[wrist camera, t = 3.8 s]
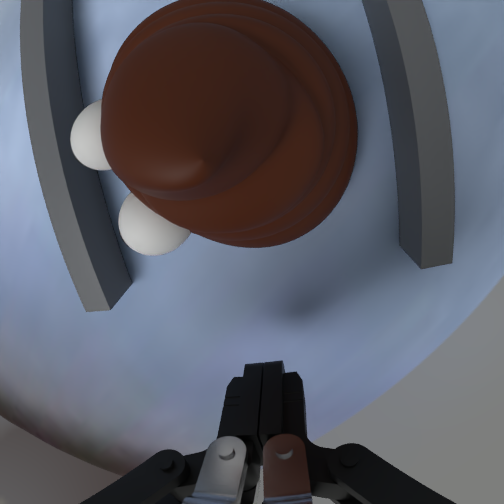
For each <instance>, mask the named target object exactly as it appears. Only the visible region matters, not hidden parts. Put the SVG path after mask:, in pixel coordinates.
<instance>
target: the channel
mask: <svg viewBox="0 0 504 504" xmlns="http://www.w3.org/2000/svg"><path fill="white" fill-rule="evenodd" d="M362 2H363V6H364V9H365V12H366V15H367V19H368V22H369V26H370V29H371V33H372V37H373V40H374V44H375V48H376V52H377V56H378V61H379V65H380V70H381V74H382V79H383V84H384V89H385V95H386V100H387V106H388V112H389V118H390V125H391V132H392V140H393V148H394V157H395V167H396V178H397V191H398V208H399V240H400V246H401V248H402V249H403V250H404V251H405V252H406V253H407V254H408V255H409V256H410V257H411V259H412V260H413V261H414V262H415V263H416V264H417V265H418V266H419V268H420V269H425V268H430V267H435V266H440V265H445V264H450V263H452V258H453V244H454V220H455V187H454V163H453V149H452V138H451V128H450V120H449V112H448V106H447V99H446V93H445V87H444V82H443V77H442V72H441V67H440V63H439V58H438V54H437V50H436V46H435V42H434V38H433V35H432V31H431V28H430V24H429V21H428V18H427V15H426V12H425V9H424V6H423V3H422V0H362ZM20 51H21V70H22V82H23V92H24V101H25V109H26V116H27V122H28V128H29V134H30V140H31V145H32V150H33V155H34V159H35V164H36V168H37V173H38V177H39V181H40V185H41V188H42V192H43V196H44V199H45V203H46V206H47V210H48V213H49V216H50V220H51V223H52V226H53V229H54V232H55V235H56V238H57V241H58V244H59V247H60V249H61V252H62V255H63V258H64V260H65V263H66V266H67V268H68V271H69V273H70V276H71V278H72V281H73V283H74V285H75V288H76V290H77V293H78V295H79V297H80V299H81V302H82V304H83V306H84V308H85V311H86V312H93V311H107V310H111V309H112V308H113V307H114V305H115V304H116V303H117V302H118V300H119V299H120V298H121V297H122V296H123V294H124V293H125V292H126V291H127V289H128V288H129V287H130V286H131V285H132V282H131V279H130V277H129V274H128V271H127V268H126V265H125V263H124V260H123V257H122V254H121V251H120V248H119V245H118V242H117V239H116V236H115V233H114V229H113V226H112V223H111V220H110V216H109V213H108V210H107V206H106V203H105V199H104V195H103V192H102V188H101V184H100V181H99V177H98V173H97V170H95V169H92V168H89V167H86V166H84V165H82V164H80V163H79V162H78V161H77V160H76V158H75V157H74V155H73V152H72V147H71V141H70V137H71V130H72V127H73V124H74V122H75V120H76V119H77V117H78V116H79V114H80V113H81V112H82V111H83V110H84V107H83V101H82V95H81V89H80V82H79V75H78V67H77V59H76V50H75V39H74V27H73V10H72V0H21V13H20Z"/></svg>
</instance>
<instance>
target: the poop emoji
mask: <svg viewBox="0 0 504 504" xmlns="http://www.w3.org/2000/svg"><path fill="white" fill-rule="evenodd" d="M357 140H358V128H357V117H356V110H355V105H354V101H353V97H352V94H351V91H350V88H349V85H348V83H347V80H346V78H345V76H344V74H343V72H342V70H341V68H340V66H339V64H338V63H337V61H336V59H335V58H334V56H333V55H332V53H331V52H330V51H329V49H328V48H327V47H326V45H325V44H324V43H323V42H322V41H321V39H320V38H319V37H318V36H317V35H316V34H315V33H314V32H313V31H312V30H311V29H310V28H309V27H307V26H306V25H305V24H304V23H303V22H301V21H300V20H299V19H297V18H296V17H295V16H293V15H291V14H290V13H288V12H287V11H285V10H283V9H281V8H279V7H277V6H275V5H273V4H271V3H268V2H266V1H263V0H178V1H176V2H173V3H171V4H169V5H167V6H165V7H163V8H161V9H159V10H158V11H156V12H154V13H153V14H151V15H150V16H149V17H147V18H146V19H145V20H144V21H142V22H141V23H140V24H139V25H138V26H137V27H136V28H135V29H134V30H133V31H132V33H131V34H130V35H129V36H128V37H127V39H126V40H125V41H124V43H123V45H122V46H121V48H120V49H119V51H118V53H117V55H116V57H115V59H114V62H113V64H112V67H111V70H110V72H109V75H108V77H107V80H106V83H105V87H104V91H103V96H102V99H100V100H98V101H96V102H94V103H92V104H90V105H89V106H87V107H86V108H85V109H84V110H83V111H82V112H81V113H80V114H79V116H78V117H77V119H76V120H75V122H74V124H73V127H72V130H71V137H70V141H71V147H72V152H73V155H74V157H75V158H76V160H77V161H78V162H79V163H80V164H82V165H84V166H86V167H89V168H92V169H95V170H111V169H112V170H113V172H114V173H115V174H116V175H117V176H118V177H119V178H120V179H121V180H122V181H123V182H124V184H125V185H126V186H127V187H128V189H129V190H130V191H131V193H130V194H129V195H128V196H127V197H126V199H125V201H124V202H123V204H122V206H121V209H120V213H119V232H120V236H121V238H122V240H123V241H124V243H125V244H126V245H127V246H129V247H130V248H131V249H133V250H134V251H136V252H138V253H141V254H144V255H150V256H157V255H163V254H166V253H169V252H171V251H173V250H175V249H176V248H178V247H179V246H180V245H181V244H183V243H184V241H185V240H186V239H187V238H188V237H189V235H190V233H191V232H192V233H194V234H197V235H200V236H202V237H205V238H207V239H210V240H213V241H216V242H219V243H222V244H226V245H231V246H237V247H246V248H262V247H271V246H276V245H280V244H284V243H287V242H290V241H292V240H295V239H297V238H299V237H301V236H303V235H305V234H306V233H308V232H309V231H311V230H312V229H314V228H315V227H316V226H318V225H319V224H320V223H321V222H322V221H323V220H324V219H325V218H326V217H327V216H328V215H329V214H330V213H331V212H332V210H333V209H334V208H335V206H336V205H337V204H338V202H339V201H340V199H341V197H342V195H343V194H344V192H345V190H346V188H347V185H348V183H349V180H350V177H351V174H352V171H353V168H354V163H355V159H356V152H357Z"/></svg>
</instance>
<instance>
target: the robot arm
mask: <svg viewBox="0 0 504 504" xmlns="http://www.w3.org/2000/svg"><path fill="white" fill-rule="evenodd" d="M262 465H263V481H264V501H263V502H262V504H312V496H317V497H322V498H329V499H331V500H332V501H333V502H334V503H335V504H456V503H454V502H452V501H451V500H449V499H447V498H445V497H443V496H442V495H440V494H438V493H436V492H435V491H433V490H431V489H430V488H428V487H426V486H425V485H422V484H421V483H419V482H418V481H416V480H415V479H413V478H411V477H410V476H408V475H407V474H405V473H403V472H402V471H400V470H399V469H397V468H395V467H394V466H393V465H391V464H389V463H388V462H386V461H385V460H383V459H382V458H380V457H379V456H377V455H376V454H374V453H373V452H371V451H370V450H368V449H367V448H366V447H364V446H362V445H360V444H354V443H350V444H344V445H341V446H339V447H337V448H336V449H330V448H323V447H319V446H317V445H315V444H313V443H312V442H310V440H309V439H308V438H307V424H306V407H305V397H304V389H303V381H302V379H301V378H300V376H299V375H298V373H297V372H289V373H285V369H284V364H283V361H273V362H265V363H253V364H245V368H244V375H243V377H234V378H233V379H232V380H231V382H230V383H229V385H228V386H227V390H226V395H225V400H224V407H223V410H222V416H221V421H220V426H219V431H218V436H217V439H216V440H214V441H213V442H212V443H211V444H210V445H209V447H208V449H206V450H204V451H202V452H199V453H194V454H190V455H185V456H183V455H182V454H181V453H179V452H178V451H175V450H170V449H169V450H162V451H160V452H158V453H156V454H155V455H153V456H152V457H150V458H149V459H148V460H146V461H145V462H143V463H142V464H141V465H139V466H138V467H136V468H135V469H133V470H132V471H130V472H129V473H127V474H126V475H124V476H123V477H121V478H120V479H119V480H117V481H115V482H114V483H112V484H111V485H109V486H108V487H106V488H104V489H103V490H101V491H100V492H98V493H96V494H95V495H93V496H91V497H90V498H88V499H86V500H85V501H83V502H81V503H80V504H257V498H258V493H259V487H260V466H262Z"/></svg>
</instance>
